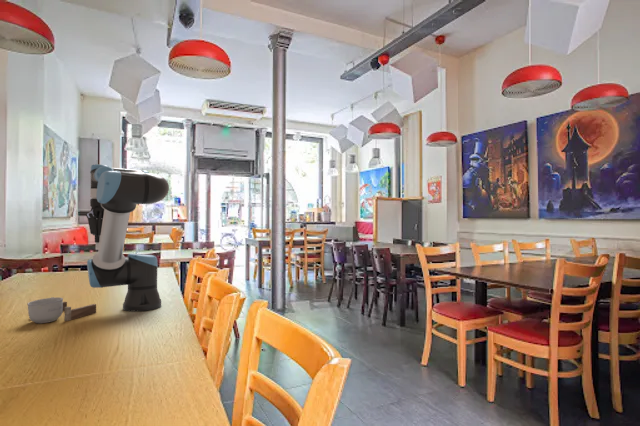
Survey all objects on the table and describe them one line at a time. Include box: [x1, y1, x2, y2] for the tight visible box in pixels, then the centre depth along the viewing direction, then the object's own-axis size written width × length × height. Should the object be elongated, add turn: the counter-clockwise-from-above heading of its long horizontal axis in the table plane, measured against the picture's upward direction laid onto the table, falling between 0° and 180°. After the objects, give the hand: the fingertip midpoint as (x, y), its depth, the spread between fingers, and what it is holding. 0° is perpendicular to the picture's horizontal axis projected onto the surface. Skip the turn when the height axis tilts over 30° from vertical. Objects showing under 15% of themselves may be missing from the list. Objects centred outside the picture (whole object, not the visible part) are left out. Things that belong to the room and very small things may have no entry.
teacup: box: [27, 296, 64, 324], centre depth 142 cm, size 14×11×8 cm
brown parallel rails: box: [63, 301, 97, 322], centre depth 150 cm, size 17×13×5 cm
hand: (99, 249), depth 172 cm, fingers closed
